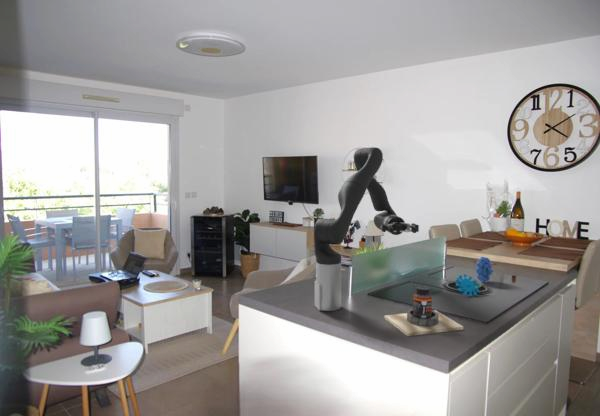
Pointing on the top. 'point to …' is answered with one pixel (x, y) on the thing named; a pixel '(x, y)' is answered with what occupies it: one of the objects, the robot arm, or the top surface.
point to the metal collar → (422, 319)
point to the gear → (467, 285)
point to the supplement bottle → (422, 302)
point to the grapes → (484, 269)
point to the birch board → (411, 329)
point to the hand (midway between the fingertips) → (403, 230)
